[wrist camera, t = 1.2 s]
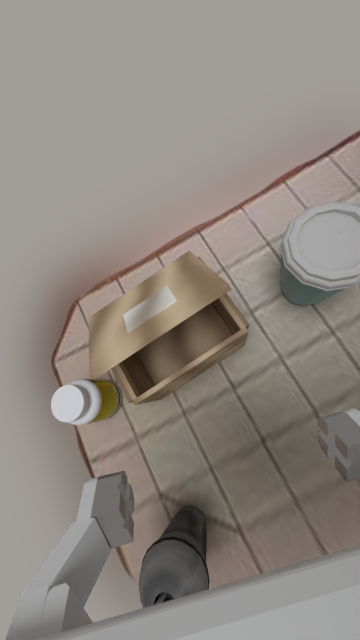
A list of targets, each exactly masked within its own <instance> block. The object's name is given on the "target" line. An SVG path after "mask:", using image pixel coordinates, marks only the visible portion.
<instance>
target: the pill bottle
mask: <svg viewBox="0 0 360 640" xmlns="http://www.w3.org/2000/svg"><path fill="white" fill-rule="evenodd" d="M121 401H122V396H121V391H120V389H119V387H118V386H117V385H116V384H115V383H113V382H111V381H108V380H90V379H80V380H76V381H73V382H71V383H70V384H68V385H65V386H62V387H61V388H59V389H58V390H57V391H56V392H55V394H54V395H53V398H52V401H51V409H52V412H53V415H54V416H55V417H56V418H57V419H58V420H60V421H61V422H69V423H70V424H73V425H85V424H88V423H92V422H96V421H100V420H103V419H107V418H109V417H111V416H113V415H114V414H115V413H116V412H117V411H118V410H119V408H120V405H121Z"/></svg>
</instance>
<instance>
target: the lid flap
mask: <svg viewBox="0 0 360 640" xmlns="http://www.w3.org/2000/svg"><path fill="white" fill-rule="evenodd" d="M230 290H231V288H230V286H229V284H227V283H226V282H225V281H224V280H223V279H222V278H220V277H219V276H218V275H217V274H216V273H215V272H213V271H212V270H211V269H210V268H209V267H208V266H207V265H205V264H204V263H203V262H202V261H201V260H200V259H198V258H197V257H196V256H195V255H194V254H193V253H191V252H190V251H188V252H187V253H185V254H184V255H182V256H181V257H179V258H178V259H176V260H175V261H173V262H172V263H170V264H169V265H167V266H166V267H164V268H163V269H161V270H160V271H158V272H157V273H155V274H154V275H152V276H151V277H149V278H148V279H146V280H145V281H143V282H142V283H140V284H139V285H137V286H136V287H134V288H133V289H131V290H130V291H128V292H127V293H125V294H124V295H122V296H121V297H119V298H118V299H116V300H115V301H113V302H112V303H110V304H109V305H107V306H106V307H104V308H103V309H101V310H100V311H98V312H97V313H95V314H94V315H92V316H91V317H89V372H90V377H91V378H92V379H93V380H94V379H96V378H98V377H99V376H101V375H102V374H104V373H105V372H107V371H108V370H110V369H111V368H113V367H114V366H116V365H117V364H119V363H120V362H122V361H123V360H125V359H126V358H128V357H129V356H131V355H132V354H134V353H135V352H137V351H139V350H140V349H142V348H143V347H145V346H146V345H148V344H149V343H151V342H152V341H154V340H155V339H157V338H158V337H160V336H161V335H163V334H164V333H166V332H167V331H169V330H170V329H172V328H173V327H175V326H176V325H178V324H180V323H181V322H183V321H184V320H186V319H187V318H189V317H190V316H192V315H193V314H195V313H196V312H198V311H199V310H201V309H202V308H204V307H205V306H207V305H208V304H210V303H211V302H213V301H214V300H216V299H218V298H219V297H221V296H222V295H224V294H225V293H227V292H228V291H230Z"/></svg>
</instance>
